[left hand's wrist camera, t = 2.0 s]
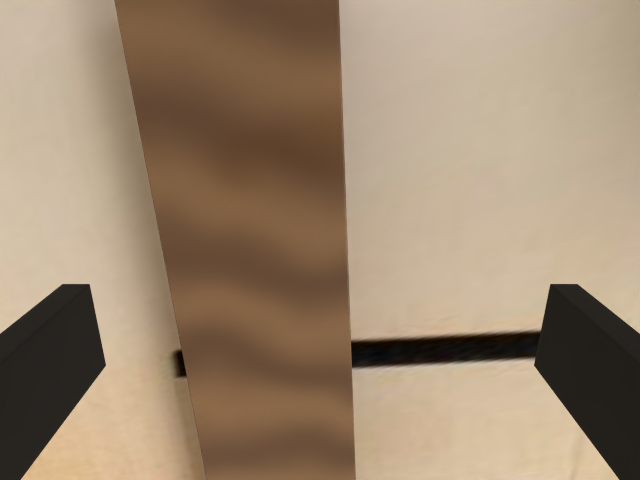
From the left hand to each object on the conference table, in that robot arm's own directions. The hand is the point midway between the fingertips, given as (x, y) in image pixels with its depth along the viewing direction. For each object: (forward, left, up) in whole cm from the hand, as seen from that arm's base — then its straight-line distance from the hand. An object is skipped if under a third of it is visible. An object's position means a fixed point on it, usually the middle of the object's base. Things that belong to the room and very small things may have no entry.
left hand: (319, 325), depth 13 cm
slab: (+25, +14, -17) cm, 33 cm away
